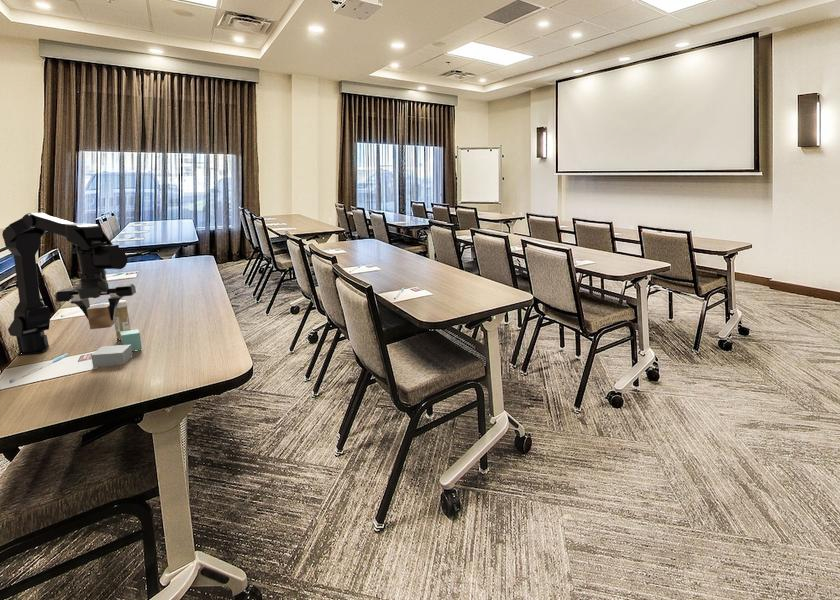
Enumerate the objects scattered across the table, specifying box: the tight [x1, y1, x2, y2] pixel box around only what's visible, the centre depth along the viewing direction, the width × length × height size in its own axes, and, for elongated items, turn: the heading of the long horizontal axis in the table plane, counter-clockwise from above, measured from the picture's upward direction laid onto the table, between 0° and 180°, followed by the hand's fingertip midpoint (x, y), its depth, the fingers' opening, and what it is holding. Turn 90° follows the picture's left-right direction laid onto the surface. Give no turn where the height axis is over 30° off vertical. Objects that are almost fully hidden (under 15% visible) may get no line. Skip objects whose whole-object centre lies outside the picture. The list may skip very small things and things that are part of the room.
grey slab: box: [90, 344, 134, 368], centre depth 140 cm, size 8×8×4 cm
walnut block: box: [87, 303, 115, 330], centre depth 138 cm, size 5×5×6 cm
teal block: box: [120, 328, 143, 351], centre depth 150 cm, size 5×5×6 cm
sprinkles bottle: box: [113, 299, 131, 340], centre depth 160 cm, size 5×5×13 cm
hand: (102, 321), depth 138 cm, fingers closed on walnut block, 5 cm apart
